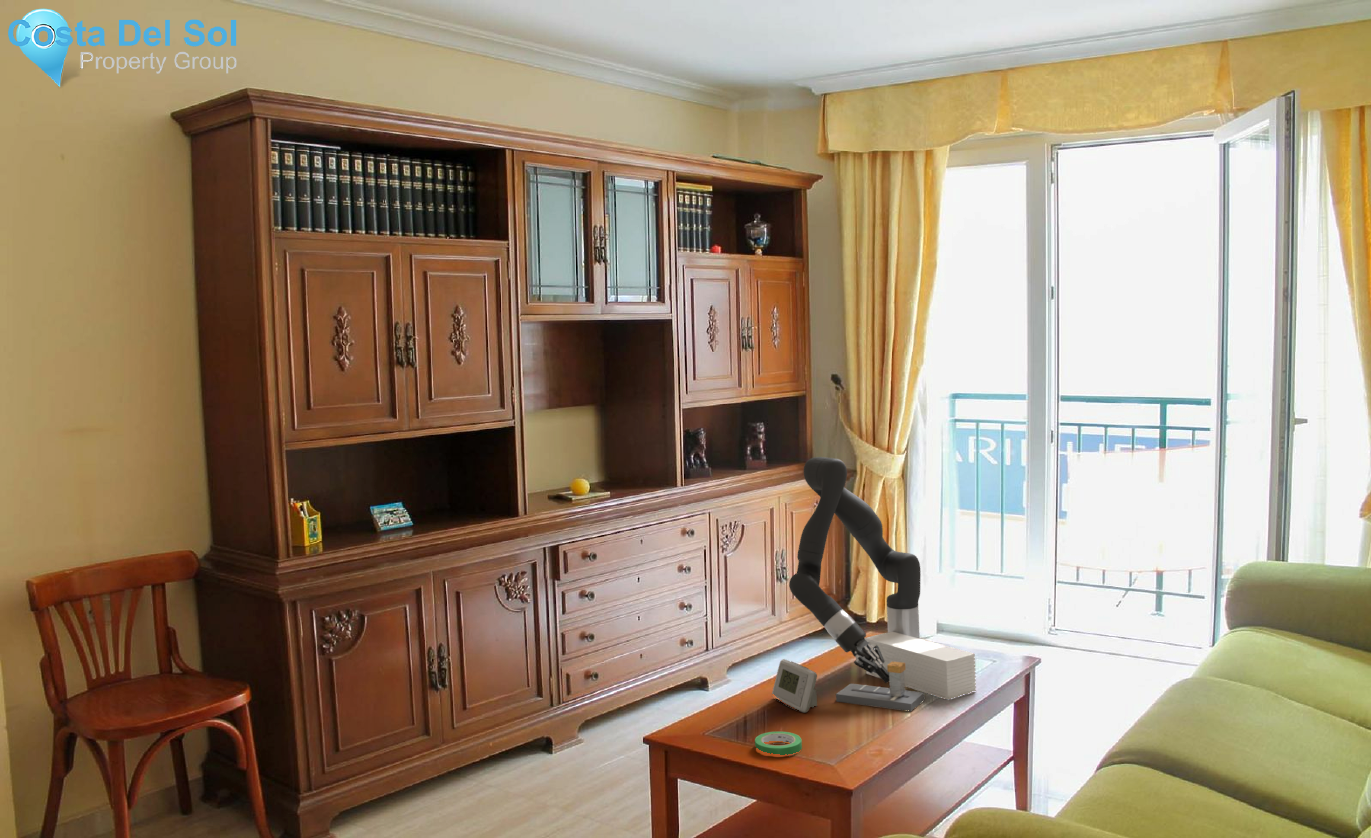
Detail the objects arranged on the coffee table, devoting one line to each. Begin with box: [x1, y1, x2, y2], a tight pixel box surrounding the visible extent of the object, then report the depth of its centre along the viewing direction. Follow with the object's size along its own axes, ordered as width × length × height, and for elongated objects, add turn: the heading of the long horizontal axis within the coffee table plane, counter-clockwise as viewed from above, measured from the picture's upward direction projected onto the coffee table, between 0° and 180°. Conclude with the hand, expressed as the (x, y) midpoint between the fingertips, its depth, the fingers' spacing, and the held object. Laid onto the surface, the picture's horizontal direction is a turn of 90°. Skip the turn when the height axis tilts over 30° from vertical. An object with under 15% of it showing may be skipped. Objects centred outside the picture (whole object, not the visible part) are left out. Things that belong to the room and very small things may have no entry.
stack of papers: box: [865, 631, 977, 700], centre depth 295 cm, size 32×11×11 cm, turn 32°
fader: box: [887, 661, 906, 697], centre depth 279 cm, size 4×4×8 cm
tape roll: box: [754, 730, 803, 755], centre depth 251 cm, size 11×11×3 cm
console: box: [835, 683, 926, 712], centre depth 281 cm, size 10×21×2 cm, turn 58°
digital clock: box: [771, 658, 818, 713], centre depth 282 cm, size 16×9×11 cm, turn 16°
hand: (889, 680), depth 280 cm, fingers closed
